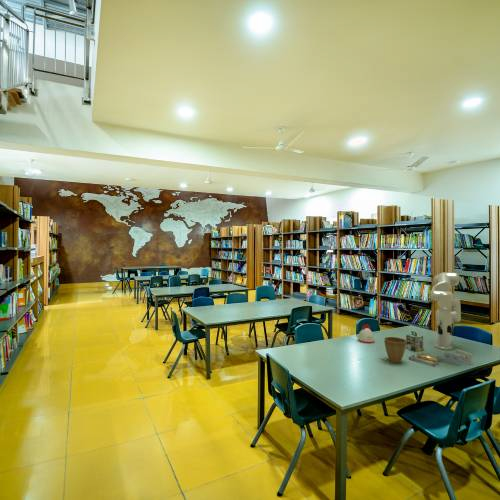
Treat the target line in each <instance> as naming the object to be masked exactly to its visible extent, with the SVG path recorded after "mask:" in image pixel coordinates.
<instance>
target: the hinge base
mask: <svg viewBox="0 0 500 500" xmlns="http://www.w3.org/2000/svg"><path fill="white" fill-rule="evenodd" d="M408 360H409V361H414V362H416V363H420V364H424V365H426V366H427V365H428V366H430V367H436V366H438V365H440V362H441V361H442V362H443V361H444V357H443V356H439V355H435V354H430V353H426V352H422V353H418V352H416V355H415V354H413V355H410V356H409V357H408Z"/></svg>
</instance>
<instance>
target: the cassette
mask: <svg viewBox="0 0 500 500" xmlns="http://www.w3.org/2000/svg"><path fill="white" fill-rule="evenodd" d="M455 354H459V355H461V363H465V364H467V365H471V366H472V365H473V354H472V353H470V352H468V351H464V350H460V349H458V348H456V349H455Z"/></svg>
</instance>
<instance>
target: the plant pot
mask: <svg viewBox="0 0 500 500" xmlns="http://www.w3.org/2000/svg"><path fill="white" fill-rule="evenodd" d="M383 339H384V346H385V352H386V354H387V357H388V360H389V362H391V363H395V364H400V363H401V361H402V359H403V357H404V354H405V352H406V348H407V347H406V342H407V341H406V338H402V337H397V336H386V337H383Z"/></svg>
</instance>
